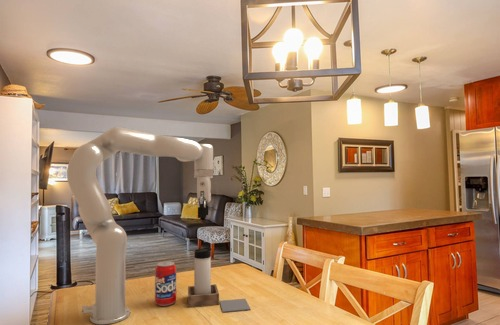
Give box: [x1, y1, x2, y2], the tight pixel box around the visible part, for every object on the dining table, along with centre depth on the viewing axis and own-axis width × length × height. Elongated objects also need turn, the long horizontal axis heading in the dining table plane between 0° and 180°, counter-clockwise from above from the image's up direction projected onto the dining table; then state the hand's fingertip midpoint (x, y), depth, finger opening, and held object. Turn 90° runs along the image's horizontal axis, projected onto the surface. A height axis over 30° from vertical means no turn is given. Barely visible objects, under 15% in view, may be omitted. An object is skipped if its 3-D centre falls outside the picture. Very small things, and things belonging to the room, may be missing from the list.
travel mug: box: [193, 247, 212, 295], centre depth 127 cm, size 6×7×20 cm
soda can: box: [154, 260, 177, 307], centre depth 124 cm, size 8×8×15 cm
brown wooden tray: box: [187, 283, 220, 308], centre depth 126 cm, size 11×11×4 cm
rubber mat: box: [219, 298, 251, 314], centre depth 121 cm, size 10×10×1 cm
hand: (203, 216), depth 133 cm, fingers open, 9 cm apart
